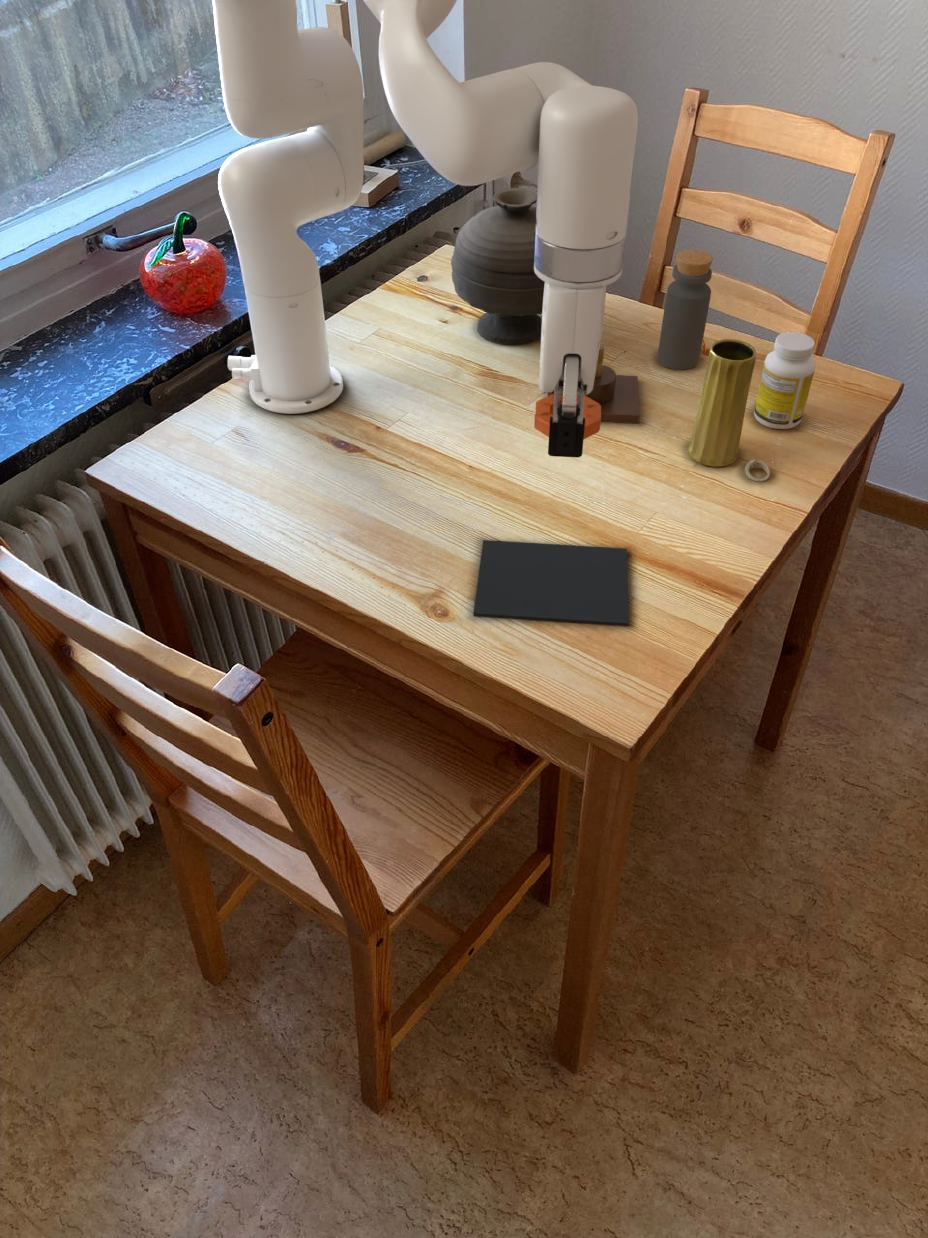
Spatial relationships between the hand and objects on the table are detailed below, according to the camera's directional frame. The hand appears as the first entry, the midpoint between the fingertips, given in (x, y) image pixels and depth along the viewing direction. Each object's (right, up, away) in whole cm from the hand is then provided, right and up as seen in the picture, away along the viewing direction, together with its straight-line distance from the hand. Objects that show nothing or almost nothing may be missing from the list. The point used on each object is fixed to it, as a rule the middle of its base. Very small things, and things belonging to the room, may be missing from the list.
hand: (565, 433), depth 96 cm
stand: (+7, +11, +37) cm, 39 cm away
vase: (+21, +3, +28) cm, 35 cm away
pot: (-3, +25, +52) cm, 57 cm away
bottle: (+20, +19, +45) cm, 53 cm away
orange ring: (0, +1, -1) cm, 1 cm away
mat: (0, -14, +11) cm, 18 cm away
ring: (+26, -1, +25) cm, 36 cm away
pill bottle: (+31, +8, +34) cm, 47 cm away
